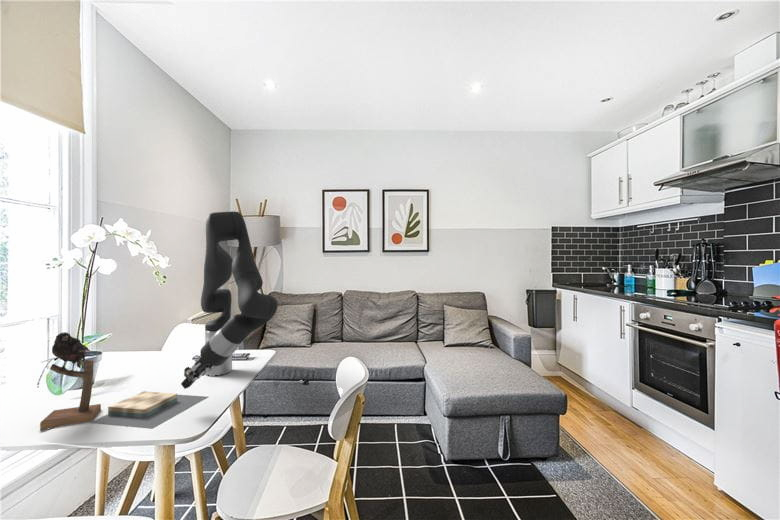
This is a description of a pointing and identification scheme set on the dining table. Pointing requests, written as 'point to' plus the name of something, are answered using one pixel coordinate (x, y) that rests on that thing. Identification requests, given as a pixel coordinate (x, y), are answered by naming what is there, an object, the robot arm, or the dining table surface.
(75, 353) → the bird figurine
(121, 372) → the dining table surface
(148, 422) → the mat
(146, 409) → the board
